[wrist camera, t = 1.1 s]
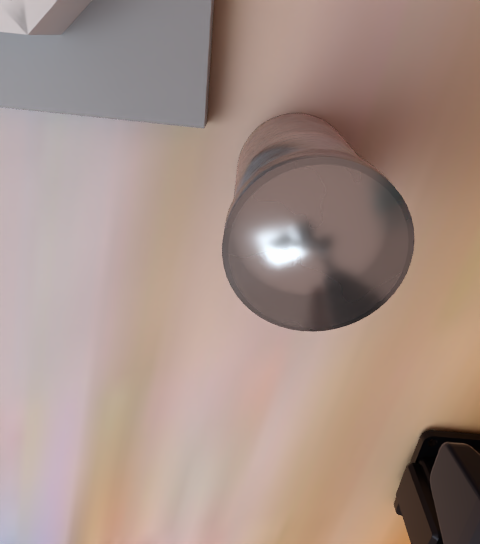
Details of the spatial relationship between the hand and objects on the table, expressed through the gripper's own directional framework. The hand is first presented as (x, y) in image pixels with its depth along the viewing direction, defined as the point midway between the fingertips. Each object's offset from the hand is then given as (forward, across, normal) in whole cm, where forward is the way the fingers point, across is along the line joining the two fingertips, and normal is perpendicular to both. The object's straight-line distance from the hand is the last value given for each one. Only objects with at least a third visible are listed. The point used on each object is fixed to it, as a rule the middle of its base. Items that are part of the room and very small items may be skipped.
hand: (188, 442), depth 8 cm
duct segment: (+12, -3, -2) cm, 12 cm away
